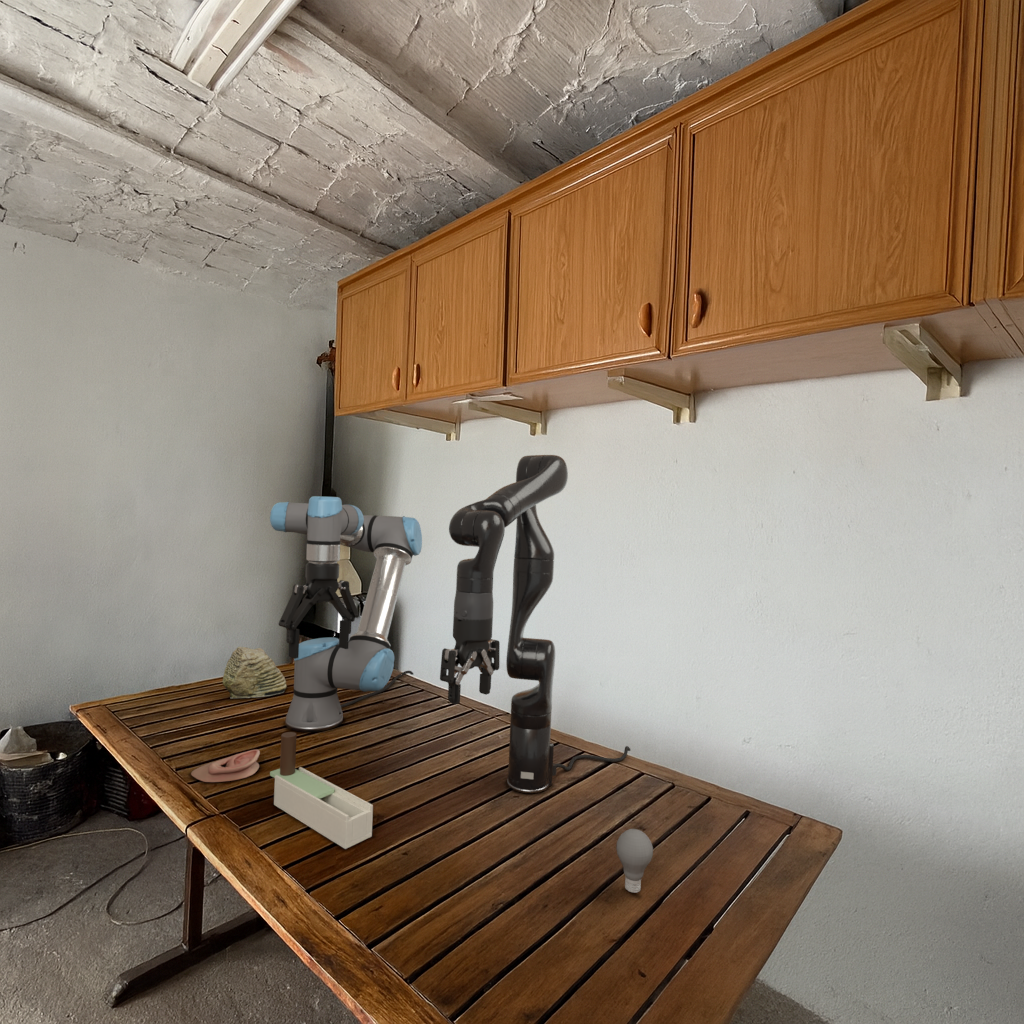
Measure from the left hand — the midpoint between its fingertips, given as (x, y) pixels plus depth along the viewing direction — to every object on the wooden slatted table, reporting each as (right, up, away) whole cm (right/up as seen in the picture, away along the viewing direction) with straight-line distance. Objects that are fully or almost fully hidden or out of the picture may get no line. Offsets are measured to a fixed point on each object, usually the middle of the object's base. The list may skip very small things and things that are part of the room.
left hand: (319, 652), depth 149 cm
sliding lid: (+2, -22, -20) cm, 30 cm away
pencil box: (+8, -28, -24) cm, 37 cm away
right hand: (+37, -3, -27) cm, 46 cm away
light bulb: (+65, -30, -43) cm, 84 cm away
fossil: (-35, -24, +50) cm, 66 cm away
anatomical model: (-20, -26, -5) cm, 33 cm away
